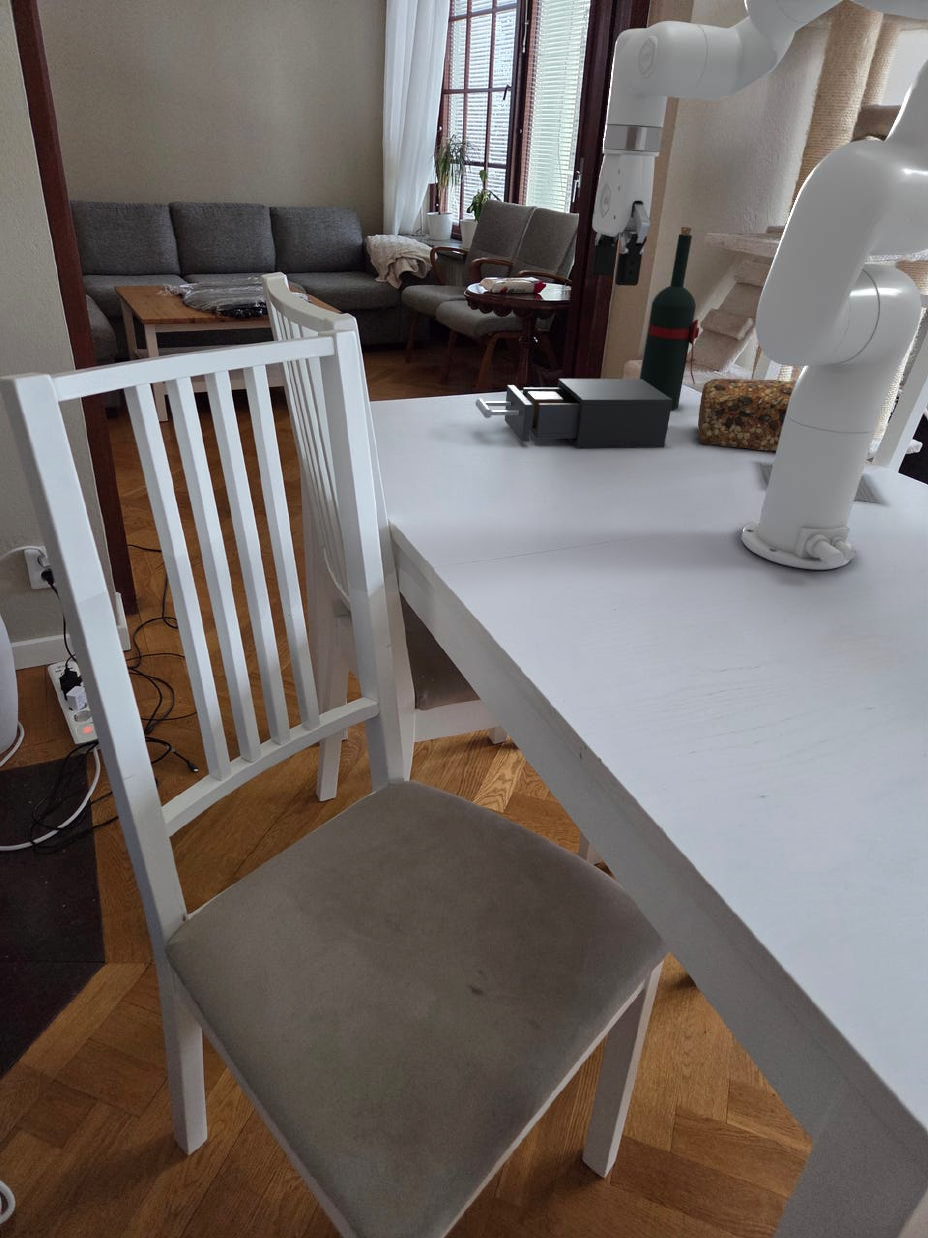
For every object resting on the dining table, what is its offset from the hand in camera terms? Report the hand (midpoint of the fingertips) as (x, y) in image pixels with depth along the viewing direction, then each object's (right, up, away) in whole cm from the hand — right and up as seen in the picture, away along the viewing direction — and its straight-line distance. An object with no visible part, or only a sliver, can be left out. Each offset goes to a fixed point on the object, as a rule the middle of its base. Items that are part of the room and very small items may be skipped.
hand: (613, 279), depth 119 cm
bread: (+26, -20, +17) cm, 37 cm away
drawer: (-10, -19, +14) cm, 25 cm away
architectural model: (+30, -29, +2) cm, 42 cm away
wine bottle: (+15, -10, +34) cm, 38 cm away
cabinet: (+2, -19, +16) cm, 25 cm away
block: (-9, -18, +13) cm, 24 cm away
